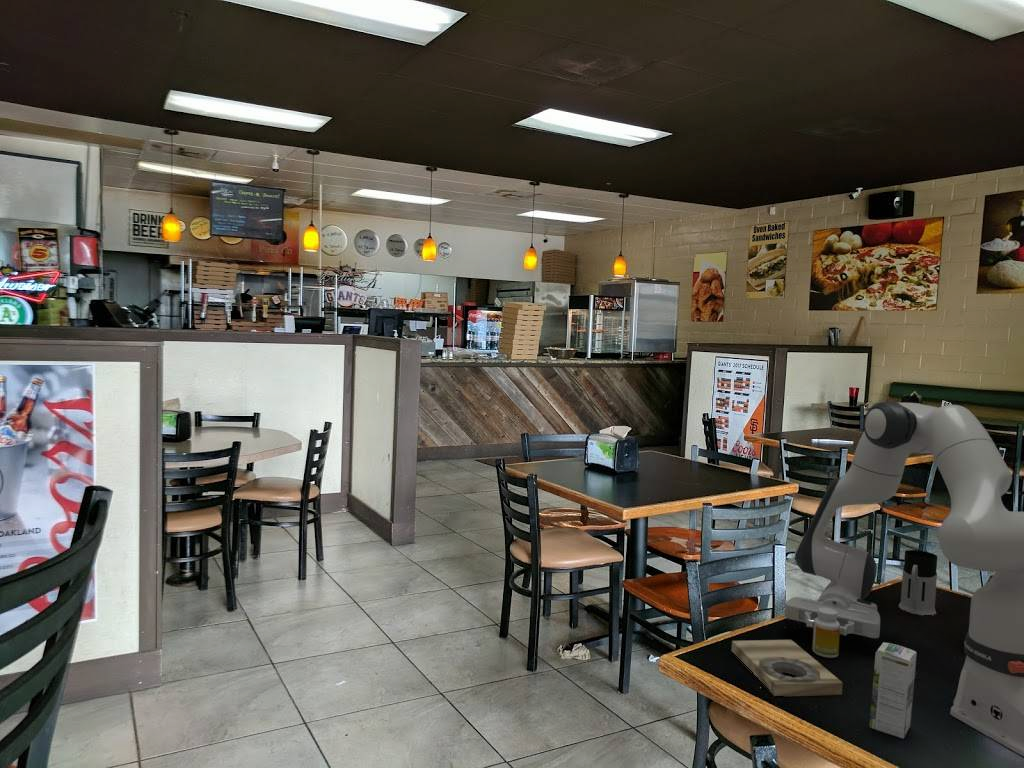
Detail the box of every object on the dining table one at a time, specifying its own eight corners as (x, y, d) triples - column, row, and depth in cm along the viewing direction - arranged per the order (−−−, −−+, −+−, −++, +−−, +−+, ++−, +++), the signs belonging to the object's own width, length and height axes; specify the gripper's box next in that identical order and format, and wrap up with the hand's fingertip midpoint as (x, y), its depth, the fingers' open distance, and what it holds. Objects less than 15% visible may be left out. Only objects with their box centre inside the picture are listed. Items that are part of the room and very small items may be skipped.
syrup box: (876, 715, 132) (881, 640, 131) (911, 727, 128) (917, 649, 127) (868, 728, 128) (873, 650, 127) (905, 740, 124) (911, 660, 123)
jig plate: (841, 694, 140) (842, 682, 139) (774, 696, 138) (775, 684, 138) (790, 650, 159) (791, 639, 159) (731, 651, 158) (732, 640, 158)
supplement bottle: (842, 658, 155) (845, 615, 155) (818, 657, 156) (820, 614, 155) (832, 648, 161) (834, 606, 160) (808, 647, 161) (810, 605, 160)
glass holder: (938, 609, 188) (942, 554, 187) (929, 624, 177) (933, 566, 176) (902, 600, 194) (905, 547, 193) (890, 615, 183) (894, 558, 182)
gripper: (791, 586, 174) (778, 603, 163) (884, 605, 163) (877, 624, 151) (790, 611, 174) (776, 630, 163) (882, 632, 163) (875, 653, 152)
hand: (826, 627), depth 157 cm, fingers closed on supplement bottle, 5 cm apart
